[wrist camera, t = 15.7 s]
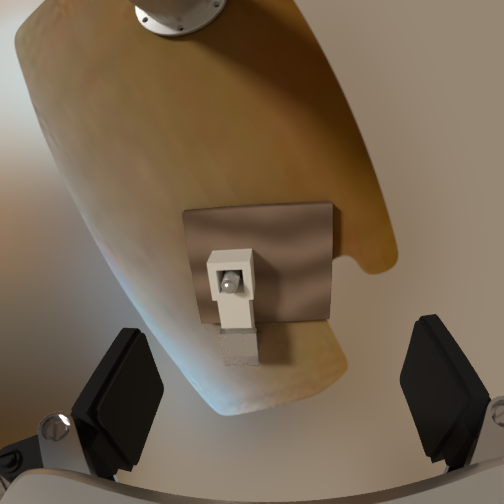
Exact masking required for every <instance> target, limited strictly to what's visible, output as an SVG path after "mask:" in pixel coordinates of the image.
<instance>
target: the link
mask: <svg viewBox="0 0 504 504" xmlns="http://www.w3.org/2000/svg"><path fill="white" fill-rule="evenodd" d="M241 269H242V272H243V278H240V280H239V284H238V289H237V291H236V292H234V293H233V294H226V293H225V292H224V291H223V290H222V288H221V283H222V280H223V277H224V276H223V270H241ZM207 270H208V276H209V282H210V288H211V294H212V300H213V301H217V302H218V309H219V315H220V321H221V327H222V328H252V327H255V322H254V311H253V301H252V300H253V299H254V291H255V275H254V264H253V253H252V249H234V250H216V251H212V253H211V255H210V257H209V259H208V261H207Z"/></svg>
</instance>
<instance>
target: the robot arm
mask: <svg viewBox="0 0 504 504" xmlns="http://www.w3.org/2000/svg"><path fill="white" fill-rule="evenodd" d="M129 1H130V2H131V3H133V4H134V5H135V12H136V16H137V19H138V21H139V22H140V23H141V25H142V26H143V27H145V28H146V29H147V30H149V31H150V32H152V33H155V34H157V35H161V36H181V35H186V34H189V33H192V32H195V31H197V30H199V29H201V28H203V27H205V26H206V25H208V24H209V23H211V22H212V21H213V20H214V19H215V18H216V17H217V16H218V15H219V14H220V12H221V11H222V10H223V8H224V6H225V4H226V1H227V0H129ZM216 6H219V7H216ZM181 29H183V30H182V31H181ZM400 385H401V388H402V390H403V393H404V395H405V398H406V400H407V403H408V406H409V409H410V411H411V414H412V417H413V419H414V422H415V425H416V428H417V430H418V434H419V437H420V440H421V442H422V446H423V449H424V452H425V454H426V456H428V457H430V458H431V461H432V463H434V462H438V461H441V460H444V459H445V462H446V465H447V466H446V468H445V471H444V473H443V474H442V475H439V476H436V477H433V478H429V479H426V480H422V481H419V482H415V483H411V484H407V485H403V486H400V487H396V488H392V489H387V490H382V491H377V492H372V493H366V494H361V495H354V496H348V497H340V498H332V499H323V500H312V501H296V502H238V501H224V500H211V499H203V498H194V497H187V496H180V495H174V494H168V493H163V492H158V491H153V490H148V489H143V488H139V487H134V486H130V485H126V484H122V483H120V482H119V480H118V478H117V476H116V473H117V471H118V469H122V470H126V471H130V472H131V471H132V468H133V465H137V464H138V462H139V459H140V456H141V453H142V451H143V448H144V445H145V442H146V439H147V436H148V433H149V431H150V428H151V425H152V423H153V420H154V417H155V415H156V412H157V409H158V406H159V404H160V401H161V398H162V395H163V392H164V386H163V383H162V380H161V378H160V375H159V372H158V370H157V367H156V364H155V362H154V359H153V356H152V353H151V350H150V347H149V345H148V342H147V339H146V336H145V334H144V333H141V331H140V330H139V329H138V328H123V329H122V330H121V331H120V333H119V334H118V336H117V337H116V339H115V340H114V342H113V343H112V345H111V346H110V348H109V350H108V351H107V353H106V354H105V356H104V357H103V359H102V360H101V362H100V363H99V365H98V367H97V368H96V370H95V371H94V373H93V374H92V376H91V378H90V379H89V381H88V383H87V384H86V386H85V387H84V389H83V391H82V392H81V394H80V396H79V397H78V399H77V401H76V402H75V404H74V406H73V407H72V412H71V414H70V415H69V414H68V413H65V412H53V413H51V414H48V415H47V416H46V417H44V418H43V419H42V421H41V422H40V424H39V426H38V434H37V435H35V436H32V437H30V438H27V439H24V440H22V441H19V442H16V443H13V444H11V445H8V446H6V447H4V448H2V449H1V450H0V504H504V396H500V397H496V398H494V399H493V400H491V399H490V397H489V393H488V391H487V390H486V388H485V386H484V385H483V383H482V381H481V380H480V378H479V377H478V375H477V373H476V372H475V370H474V368H473V367H472V366H471V364H470V362H469V361H468V359H467V357H466V356H465V354H464V353H463V351H462V350H461V348H460V347H459V345H458V344H457V343H456V341H455V340H454V338H453V337H452V335H451V334H450V332H449V331H448V330H447V328H446V327H445V325H444V324H443V322H442V321H441V320H440V318H439V317H438V316H437V315H436V314H433V315H426V316H421V317H420V318H419V321H416V322H415V324H414V329H413V332H412V336H411V340H410V344H409V348H408V351H407V355H406V358H405V361H404V365H403V368H402V371H401V374H400Z"/></svg>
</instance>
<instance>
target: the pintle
mask: <svg viewBox="0 0 504 504" xmlns="http://www.w3.org/2000/svg"><path fill="white" fill-rule="evenodd" d="M241 271H242V269H241V270H226V271H225V274H224V277H223V280H222V283H221V288H222V290H223V291H224V292H225V293H226V294H233V293H234V292H236V291H237V289H238V284H239V280H240V275H241Z"/></svg>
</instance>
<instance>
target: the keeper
mask: <svg viewBox="0 0 504 504" xmlns="http://www.w3.org/2000/svg"><path fill="white" fill-rule="evenodd" d="M219 336H220V341H221V347H222V352H223V358H224V363H225V366H259V359H260V344H261V341H260V332H257V327H252V328H221V329H220V333H219Z"/></svg>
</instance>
